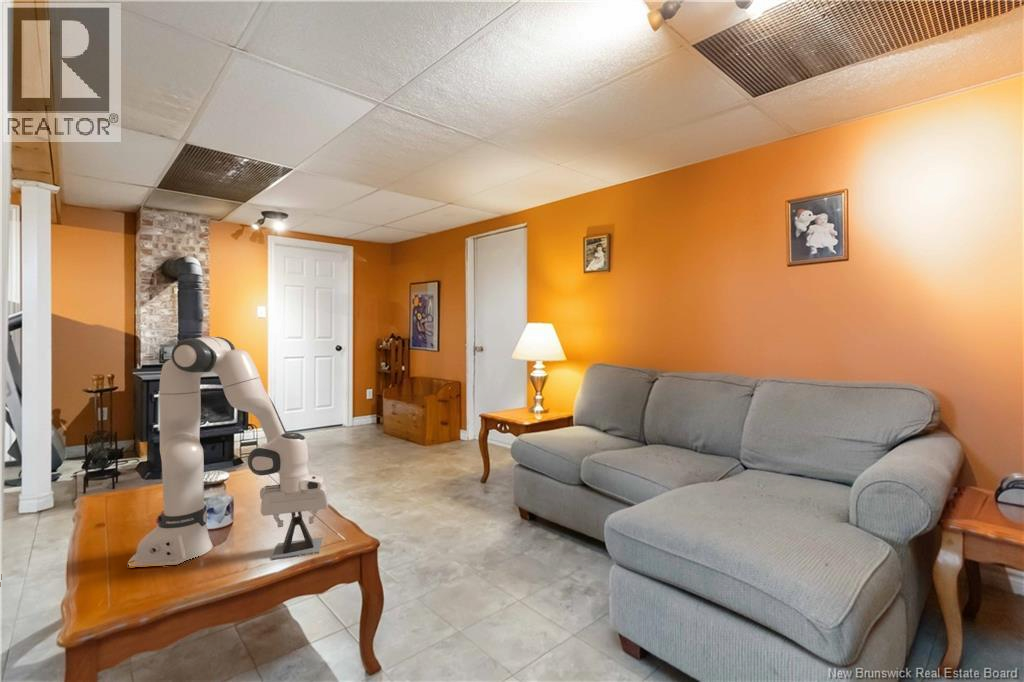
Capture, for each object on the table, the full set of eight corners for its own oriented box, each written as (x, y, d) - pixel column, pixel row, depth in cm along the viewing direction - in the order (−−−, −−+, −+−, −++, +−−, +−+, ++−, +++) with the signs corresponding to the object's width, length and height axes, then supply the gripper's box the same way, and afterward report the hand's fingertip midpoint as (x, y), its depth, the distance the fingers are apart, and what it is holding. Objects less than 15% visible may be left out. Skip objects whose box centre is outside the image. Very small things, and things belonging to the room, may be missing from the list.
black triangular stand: (283, 554, 156) (281, 517, 156) (282, 546, 161) (281, 510, 161) (313, 547, 160) (311, 511, 159) (312, 540, 165) (310, 505, 165)
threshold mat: (271, 560, 153) (271, 558, 153) (278, 544, 164) (277, 543, 164) (319, 553, 157) (318, 551, 157) (322, 538, 168) (322, 537, 168)
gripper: (257, 489, 154) (259, 532, 154) (326, 482, 159) (328, 524, 160) (261, 483, 160) (263, 525, 160) (328, 476, 165) (329, 517, 166)
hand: (296, 524), depth 160 cm, fingers open, 8 cm apart
